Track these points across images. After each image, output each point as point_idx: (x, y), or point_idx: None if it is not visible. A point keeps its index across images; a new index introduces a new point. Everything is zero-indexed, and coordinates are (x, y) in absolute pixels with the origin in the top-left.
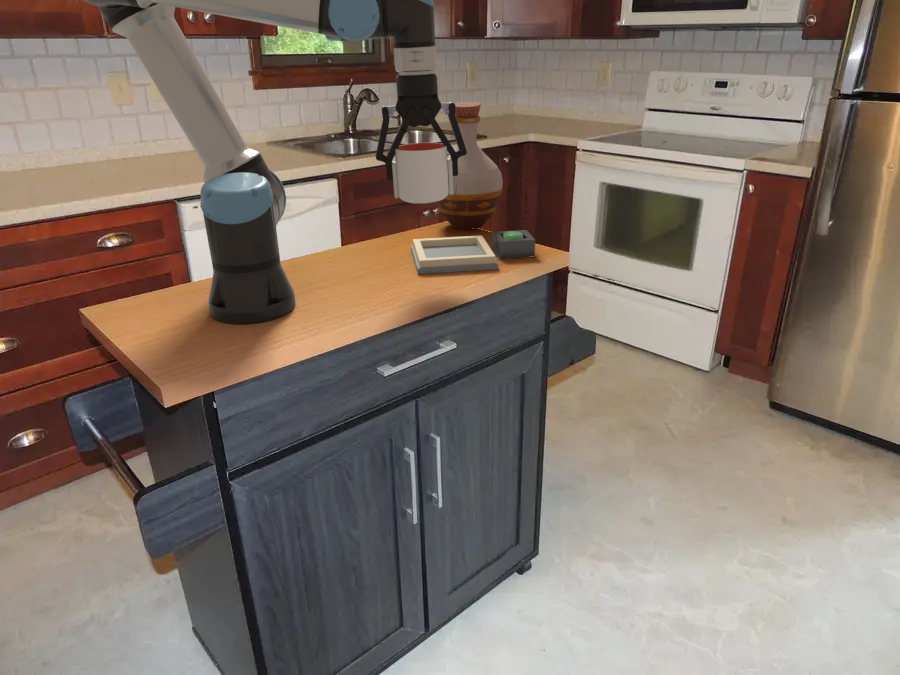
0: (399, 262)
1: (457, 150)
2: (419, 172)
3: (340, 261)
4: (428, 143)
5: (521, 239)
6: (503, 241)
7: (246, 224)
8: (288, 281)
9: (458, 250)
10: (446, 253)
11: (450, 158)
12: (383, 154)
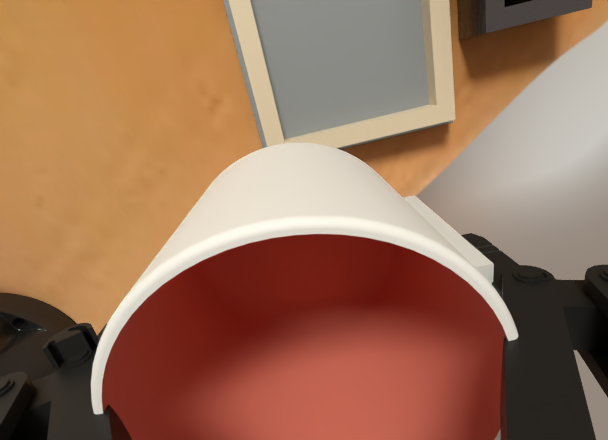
0: (204, 75)
1: (574, 332)
2: (308, 416)
3: (38, 71)
4: (365, 233)
5: (553, 5)
6: (498, 29)
7: None
8: (51, 366)
9: (359, 2)
10: (326, 36)
11: (490, 279)
12: (42, 422)
